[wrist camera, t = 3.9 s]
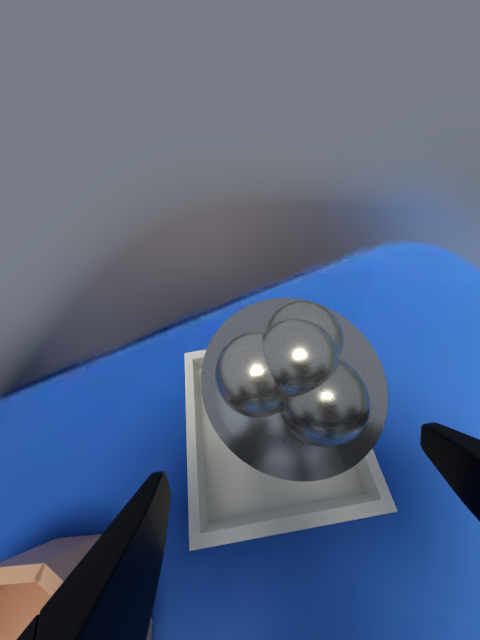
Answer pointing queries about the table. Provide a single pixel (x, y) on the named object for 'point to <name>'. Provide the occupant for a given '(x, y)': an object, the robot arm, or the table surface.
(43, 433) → the table surface
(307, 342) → the silver ball-topped cylinder
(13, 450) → the table surface
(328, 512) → the tray
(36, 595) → the bowl
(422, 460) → the table surface
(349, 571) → the table surface
